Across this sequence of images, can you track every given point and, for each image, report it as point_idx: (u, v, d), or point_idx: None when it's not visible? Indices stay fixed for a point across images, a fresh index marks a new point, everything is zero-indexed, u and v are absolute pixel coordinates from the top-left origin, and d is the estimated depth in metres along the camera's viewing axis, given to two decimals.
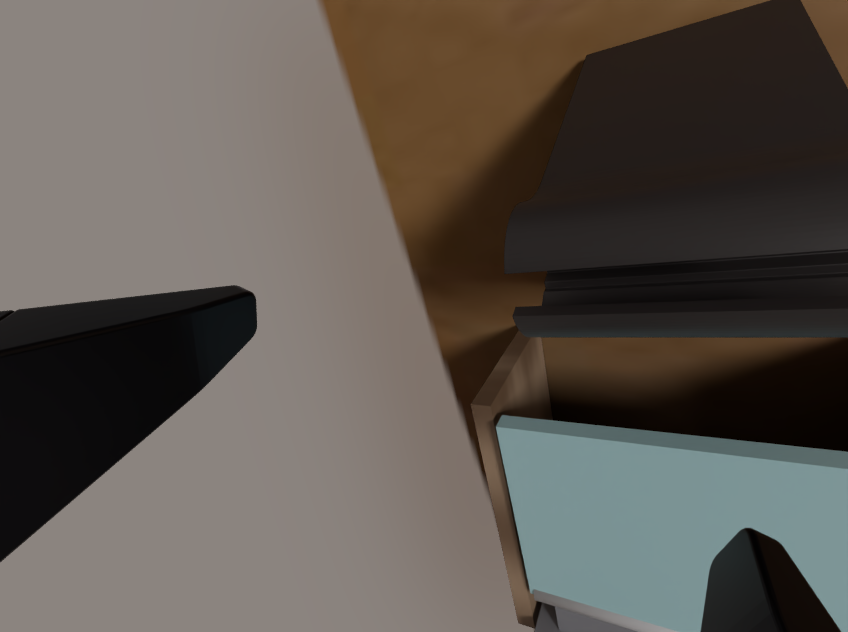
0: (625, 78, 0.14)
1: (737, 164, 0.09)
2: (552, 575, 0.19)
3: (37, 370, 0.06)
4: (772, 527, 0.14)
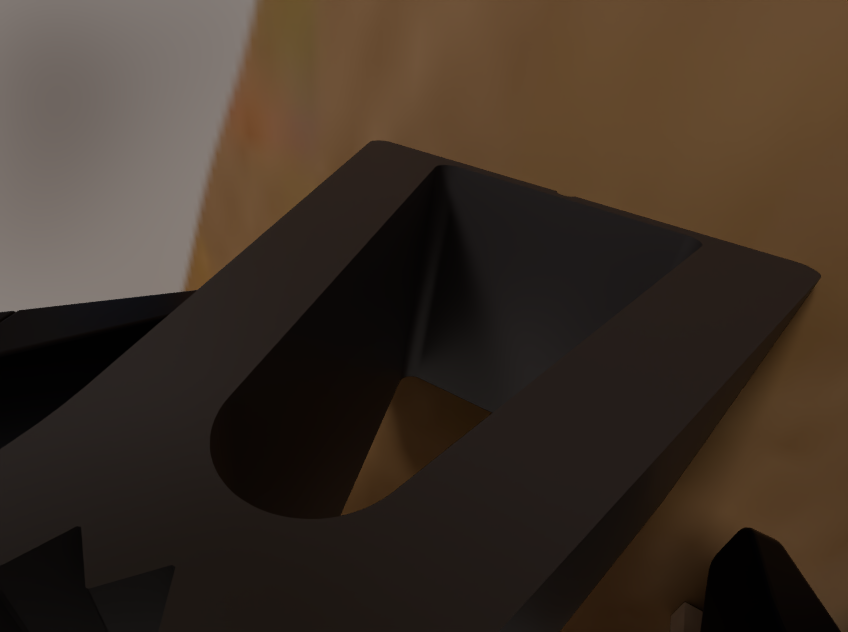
0: None
1: None
2: None
3: (38, 371, 0.06)
4: None
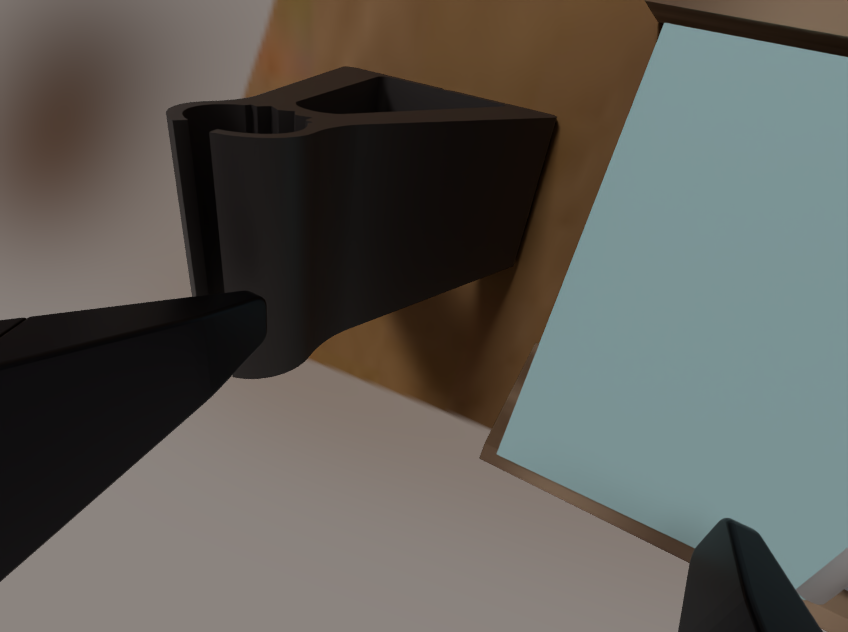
0: None
1: None
2: None
3: (50, 379, 0.06)
4: (704, 255, 0.10)
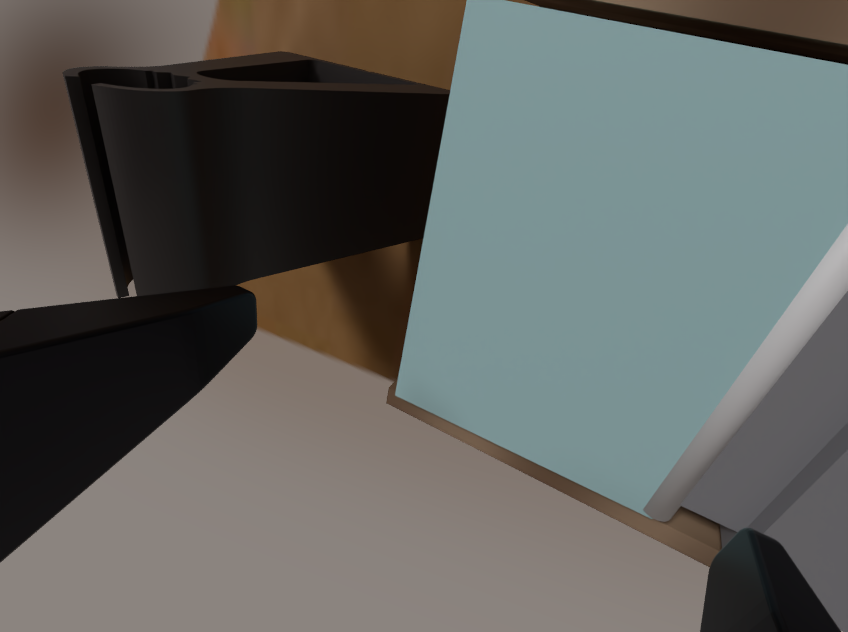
0: None
1: None
2: (613, 470, 0.14)
3: (37, 370, 0.06)
4: (526, 197, 0.11)
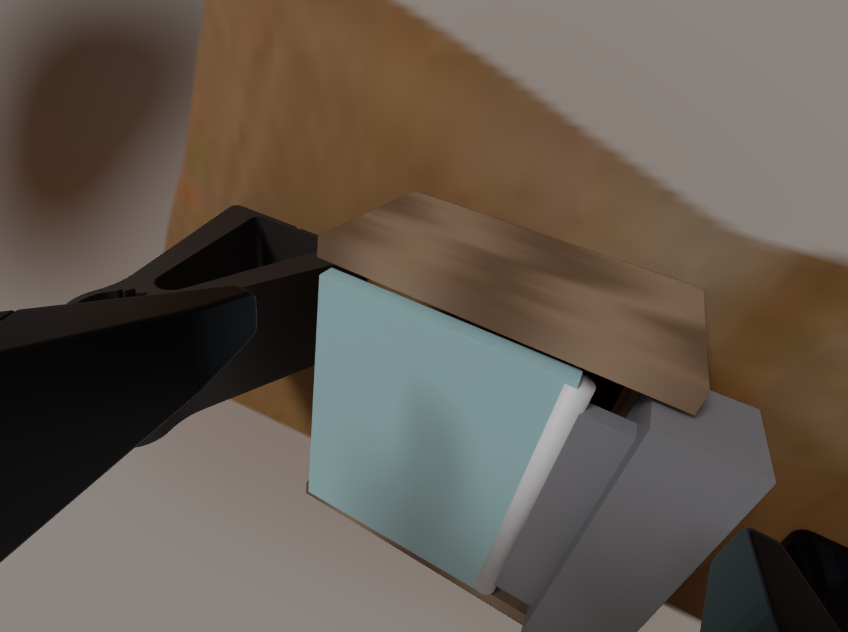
0: None
1: None
2: (451, 558, 0.20)
3: (37, 370, 0.06)
4: (370, 388, 0.17)
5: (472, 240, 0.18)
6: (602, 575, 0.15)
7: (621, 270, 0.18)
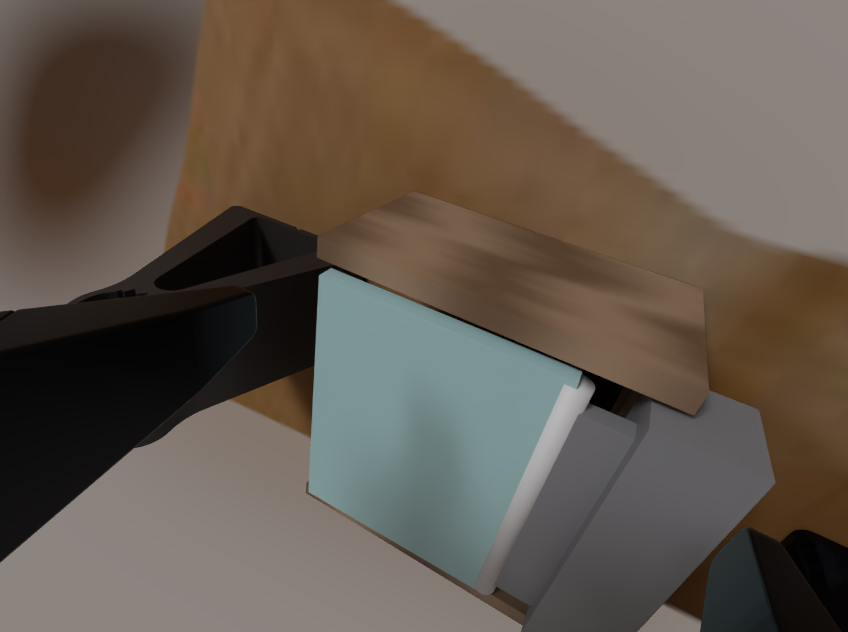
0: None
1: None
2: (451, 558, 0.20)
3: (37, 370, 0.06)
4: (370, 388, 0.17)
5: (471, 241, 0.18)
6: (602, 575, 0.15)
7: (621, 270, 0.18)
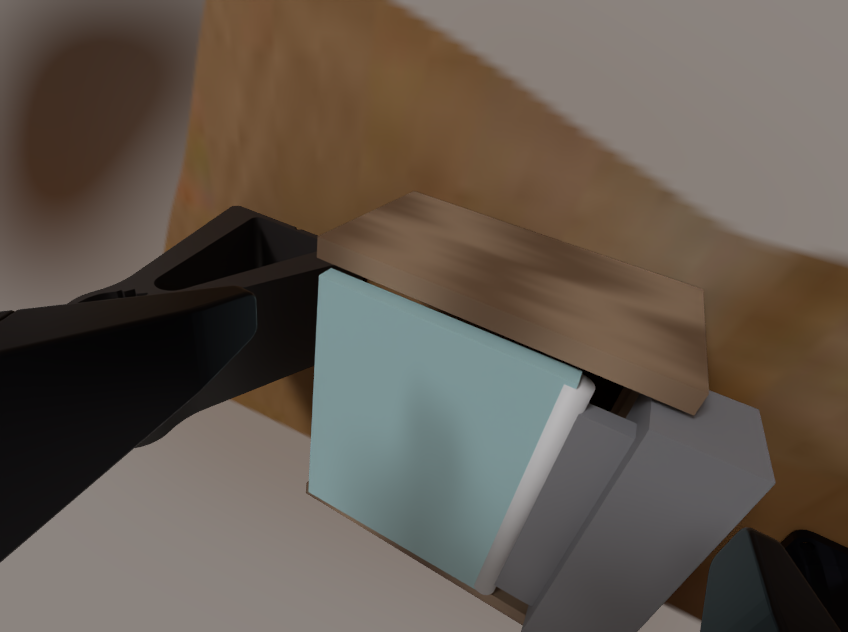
0: None
1: None
2: (451, 558, 0.20)
3: (37, 370, 0.06)
4: (370, 388, 0.17)
5: (471, 241, 0.18)
6: (602, 575, 0.15)
7: (621, 270, 0.18)
